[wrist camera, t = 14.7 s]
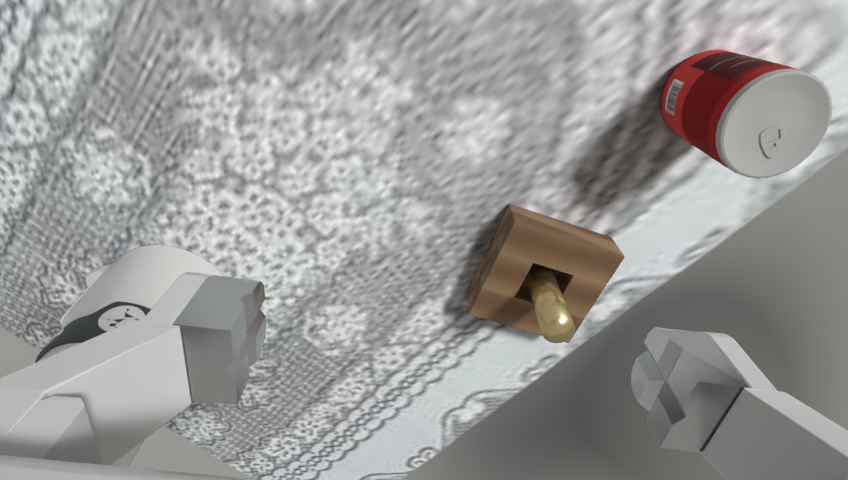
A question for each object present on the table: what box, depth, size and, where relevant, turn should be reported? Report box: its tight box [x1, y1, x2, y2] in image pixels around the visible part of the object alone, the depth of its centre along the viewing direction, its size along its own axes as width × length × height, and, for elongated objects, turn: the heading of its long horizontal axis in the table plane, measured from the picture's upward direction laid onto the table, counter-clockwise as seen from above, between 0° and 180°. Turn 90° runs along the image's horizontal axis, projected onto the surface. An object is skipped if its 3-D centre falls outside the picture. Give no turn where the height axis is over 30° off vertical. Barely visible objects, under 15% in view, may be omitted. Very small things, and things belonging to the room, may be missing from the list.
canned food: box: [661, 50, 832, 178], centre depth 39 cm, size 8×8×11 cm
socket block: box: [467, 204, 624, 343], centre depth 51 cm, size 12×12×4 cm
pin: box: [525, 263, 575, 343], centre depth 48 cm, size 3×3×10 cm
